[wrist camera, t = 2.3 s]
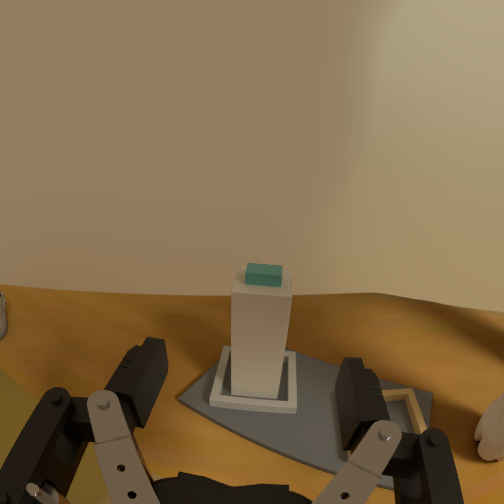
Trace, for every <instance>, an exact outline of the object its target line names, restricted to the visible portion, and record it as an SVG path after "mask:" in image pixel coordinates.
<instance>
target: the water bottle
mask: <svg viewBox="0 0 504 504" xmlns="http://www.w3.org/2000/svg"><path fill="white" fill-rule="evenodd" d="M474 439H475V441H480V440H481V441H480V443H479V446H478V454H479V456H480V457H481V458H482V459H484V460H487V461H491V460H495V459H497V461H498V462H499V461H504V393H503V394H502V395H501V396H500V397H499V398H497V399H496V400H495V401H494V402H493V403H491V404H490V406H489V407H488V408H487V409H486V411H485V412H484V414H483V415H482V417H481V419H480V420H479V423H478V425H477V428H476V430H475V435H474Z"/></svg>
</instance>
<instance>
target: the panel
mask: <svg viewBox="0 0 504 504" xmlns="http://www.w3.org/2000/svg"><path fill="white" fill-rule="evenodd" d="M339 370H340V366H337V365H333V364H330V363H327V362H324V361H321V360H319V359H316V358H313V357H310V356H307V355H304V354H301V353H298V352H296V351H293V350H290V349H287V348H285V353H284V359H283V366H282V372H281V378H280V384H279V390H278V396H277V399H272V398H259V397H248V396H238V395H231V346H223V350H222V354H221V357H220V360H219V361H218V362H217V363H216V364H215V365H214V366H213V367H212V368H210V369H209V370H208V371H207V372H206V373H205V374H204V375H203V376H202V377H201V378H200V379H199V380H198V381H197V382H195V383H194V384H193V385H192V386H191V387H190V388H189V389H188V390H187V391H186V392H185V393H183V394H182V395H181V396H180V397H179V398H178V400H179V402H180V403H182V404H183V405H185V406H186V407H188V408H190V409H191V410H193V411H195V412H197V413H198V414H200V415H202V416H203V417H205V418H207V419H209V420H211V421H212V422H214V423H216V424H218V425H220V426H221V427H223V428H225V429H227V430H229V431H231V432H233V433H235V434H237V435H239V436H241V437H243V438H245V439H247V440H249V441H251V442H253V443H255V444H257V445H260V446H262V447H264V448H266V449H268V450H271V451H273V452H275V453H278V454H280V455H282V456H285V457H287V458H290V459H292V460H295V461H297V462H300V463H302V464H305V465H308V466H310V467H313V468H316V469H319V470H322V471H325V472H328V473H331V474H334V475H336V474H337V473H338V471H339V470H340V469H341V468H342V466H343V465H344V464H345V462H346V461H347V460H348V459H349V458H350V456H351V451H343V449H342V441H341V433H340V425H339V418H338V411H337V404H336V397H335V383H336V379H337V376H338V373H339ZM378 380H379V383H380V387H381V389H382V394H383V396H384V399H385V403H386V406H387V410H388V413H389V417H390V420H391V422H393V423H395V424H396V425H398V427H399V428H400V430H401V431H403V432H406V433H412V434H419V435H421V434H422V432H423V431H425V430H426V429H429V423H430V415H431V406H432V396H433V393H432V392H427V391H423V390H419V389H415V388H412V387H408V386H404V385H400V384H397V383H393V382H389V381H386V380H382V379H379V378H378ZM380 477H381V478H380V481H379V482H378V484H377V486H376V487H380V488H385V489H389V490H394V484H393V477H392V476H385V475H381V476H380Z"/></svg>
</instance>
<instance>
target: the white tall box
mask: <svg viewBox="0 0 504 504" xmlns="http://www.w3.org/2000/svg"><path fill="white" fill-rule="evenodd" d="M291 304H292V281H291V270H283V269H282V266H279V265H267V264H254V263H248V265H247V267H244V266H239V270H238V273H237V276H236V279H235V283H234V286H233V289H232V297H231V395H238V396H248V397H259V398H272V399H277V396H278V390H279V384H280V378H281V372H282V366H283V359H284V353H285V346H286V340H287V333H288V326H289V318H290V311H291Z"/></svg>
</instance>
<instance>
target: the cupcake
mask: <svg viewBox="0 0 504 504" xmlns="http://www.w3.org/2000/svg"><path fill="white" fill-rule="evenodd" d="M3 295H4V293H0V339H2V338H3V336H4V335H5V333H6V332H7V321H6V316H5V303H6V299H5V298H3Z"/></svg>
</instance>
